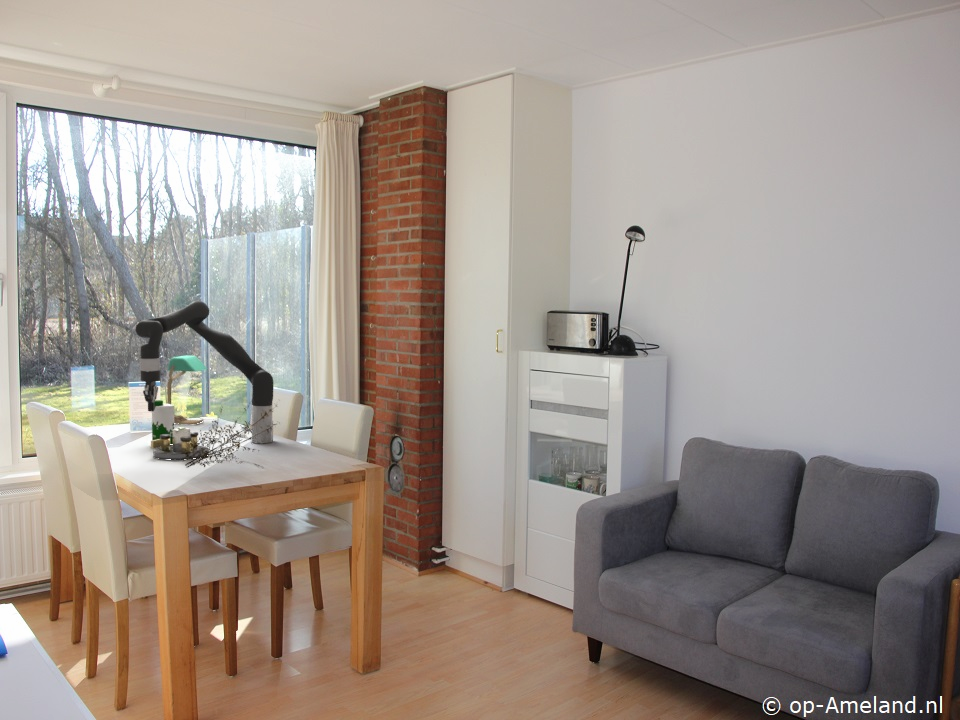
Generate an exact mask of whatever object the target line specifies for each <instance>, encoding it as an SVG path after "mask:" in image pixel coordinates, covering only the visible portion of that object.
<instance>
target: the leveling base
mask: <svg viewBox="0 0 960 720" xmlns="http://www.w3.org/2000/svg"><path fill="white" fill-rule="evenodd" d="M190 432H191V428H190V427H189V428H188V427H185V426H180V427H177V428H175V427H174V429H173V445H170V450H161V447H159V448H155V450H154V449H153V458H154V457H155V459H156V458H159V459H158V460H161V459H171V460H170V461H183V460H184V459H187V458H188V459H190V458H189V457H186V456H187V455H186V454H185V453H181V440H180V438H181V437H190ZM198 446H199V448H200V449H199V448H198ZM198 446H197V450H198V451H199V450H200V451H201V448H203V449H204V447H205V446H203V445H198ZM201 446H202V447H201ZM206 447H207V446H206ZM206 447H205V448H206ZM207 448H208V449H209V448H210V447H207ZM207 448H206V449H205V450H204V451H203V452H202V451H201V452H202V453H201V452H200V451H199V452H200V453H198V452H197V450H196V448H194V451H195V452H194V453H196V452H197V453H198V454H197V453H196V455H195V457H196V458H197V456H198V455H199V454H201V456H202V455H204V454H203V453H206V452H205V451H207V452H209V451H210V450H208V449H207ZM192 452H193V451H191V452H190V454H189V453H187V454H189V456H191V457H192V455H193V453H192ZM208 454H210V453H208ZM204 456H205V455H204ZM184 457H185V458H184ZM195 457H194V456H193V457H192V458H191V460H194V459H193V458H195ZM198 457H200V456H198ZM202 457H203V456H202ZM182 458H183V459H182Z"/></svg>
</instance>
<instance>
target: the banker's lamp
mask: <svg viewBox="0 0 960 720" xmlns="http://www.w3.org/2000/svg"><path fill="white" fill-rule="evenodd" d="M207 370H208V368H207V366H205V364H203V362H202V361H201V360H200V359H199V357H197V356H195V355H180V356H174V357H171V358H170V359H169V363H168V367H167V371H168V372H169V373H168V381H167V385H166V386H167V387H166V388H167V389H166V393H167V394H166V395H167V397H166V398H167V400H166V401H167V402H166V404H171V405H172V383H173V381H174V380H175V379H176V378H178V377H181V376H183V375H185V374H186V372H202V371H207ZM173 372H179V373H178V374H177V373H176V374H175V375H174V376H172V375H173ZM202 421H203V422H204V419H203V418H202V419H199V420H198V419H188V418H187V417H185V416H184V415H180V414H175V413H174V423H179V424H178V425H181V424H197V423H200V422H202Z"/></svg>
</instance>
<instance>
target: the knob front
mask: <svg viewBox="0 0 960 720" xmlns="http://www.w3.org/2000/svg"><path fill="white" fill-rule="evenodd" d="M160 438H161V439H157V440H150V449H153V450H154V449H159V448H161V450H170V446H171V445H170V438H171V434H162V435H160Z"/></svg>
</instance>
